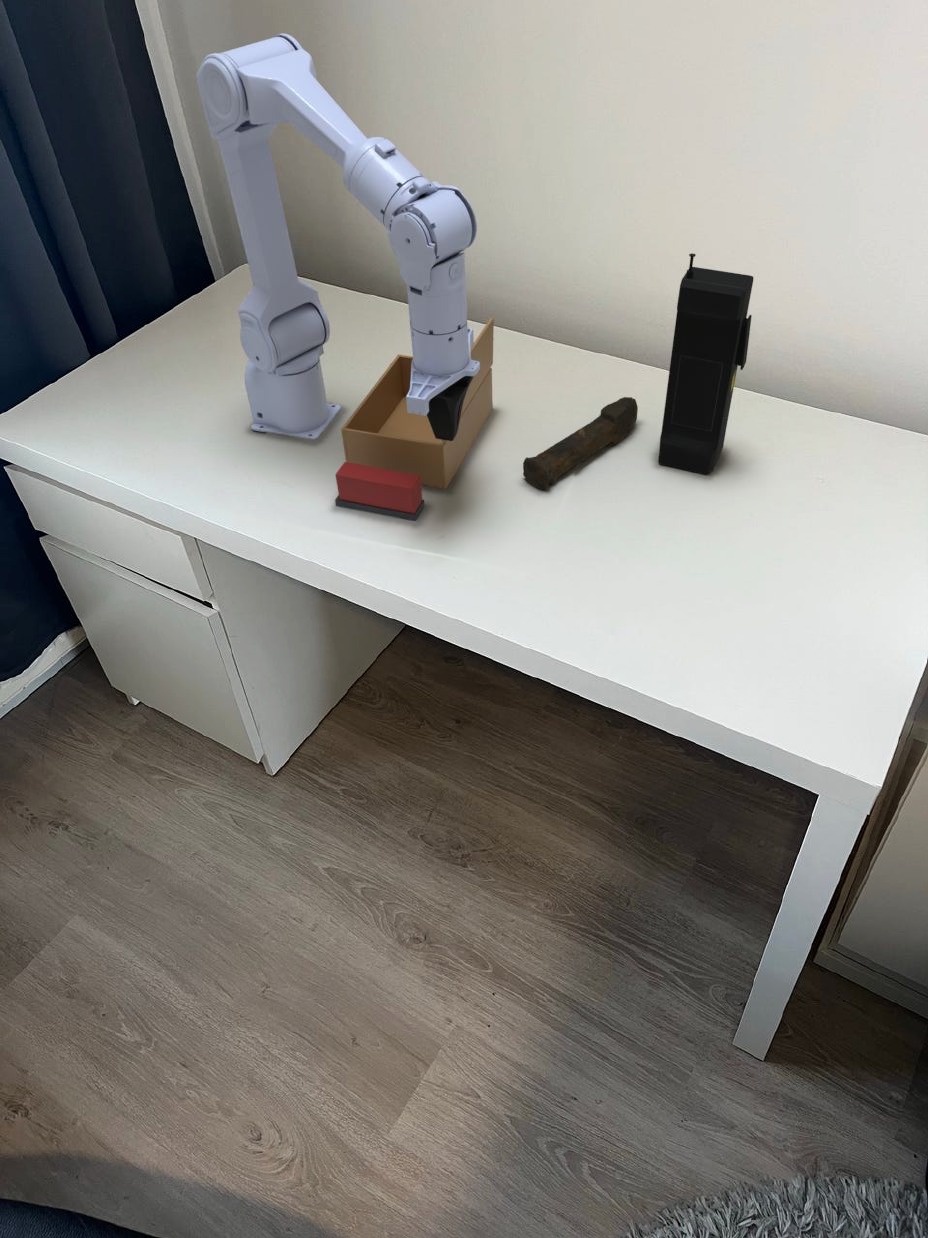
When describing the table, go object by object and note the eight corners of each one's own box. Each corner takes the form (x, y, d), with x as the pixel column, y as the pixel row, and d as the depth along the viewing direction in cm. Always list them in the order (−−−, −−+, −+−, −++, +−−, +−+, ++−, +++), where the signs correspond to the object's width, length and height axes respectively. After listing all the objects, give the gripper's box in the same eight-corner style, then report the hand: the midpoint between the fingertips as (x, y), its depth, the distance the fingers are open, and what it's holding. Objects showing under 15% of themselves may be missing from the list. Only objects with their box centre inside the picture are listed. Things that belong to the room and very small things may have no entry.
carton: (402, 397, 126) (398, 354, 122) (492, 411, 123) (491, 367, 118) (347, 473, 115) (340, 429, 110) (446, 491, 111) (443, 446, 107)
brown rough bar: (544, 496, 110) (545, 464, 107) (520, 481, 112) (521, 449, 109) (652, 432, 118) (656, 400, 115) (628, 420, 120) (631, 388, 117)
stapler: (336, 508, 110) (330, 474, 107) (346, 492, 112) (341, 459, 109) (415, 523, 107) (412, 489, 104) (424, 507, 109) (421, 474, 106)
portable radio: (731, 450, 115) (770, 249, 97) (719, 478, 111) (757, 273, 93) (668, 437, 117) (695, 238, 100) (654, 463, 114) (680, 261, 96)
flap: (491, 316, 114) (493, 317, 113) (490, 363, 118) (492, 363, 118) (440, 393, 102) (443, 393, 102) (441, 441, 106) (444, 441, 106)
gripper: (451, 362, 88) (458, 480, 97) (499, 292, 97) (501, 406, 107) (381, 352, 89) (395, 469, 99) (435, 284, 99) (442, 397, 108)
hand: (446, 436), depth 103 cm, fingers closed
